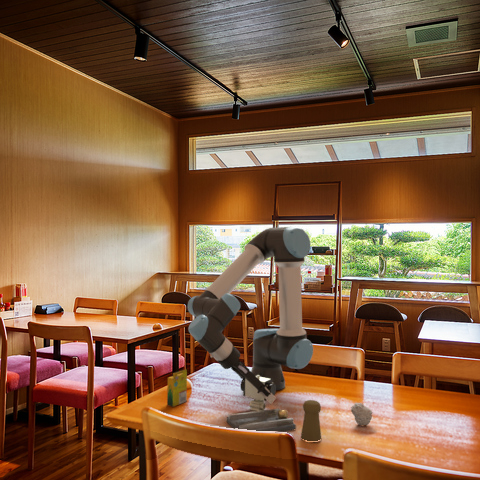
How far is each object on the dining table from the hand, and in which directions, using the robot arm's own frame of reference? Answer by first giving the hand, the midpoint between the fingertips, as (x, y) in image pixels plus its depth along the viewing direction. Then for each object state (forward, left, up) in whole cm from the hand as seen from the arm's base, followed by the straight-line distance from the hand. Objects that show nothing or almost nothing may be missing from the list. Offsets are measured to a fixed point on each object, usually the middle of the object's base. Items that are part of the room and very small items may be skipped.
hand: (266, 396), depth 157 cm
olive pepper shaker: (-2, +27, -5) cm, 27 cm away
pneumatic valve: (+3, 0, -5) cm, 6 cm away
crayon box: (+28, -15, -5) cm, 32 cm away
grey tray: (+8, +13, -5) cm, 16 cm away
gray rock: (-23, +23, -5) cm, 33 cm away
